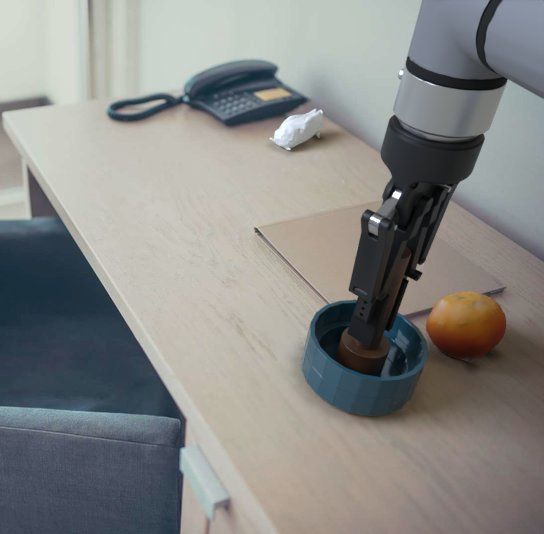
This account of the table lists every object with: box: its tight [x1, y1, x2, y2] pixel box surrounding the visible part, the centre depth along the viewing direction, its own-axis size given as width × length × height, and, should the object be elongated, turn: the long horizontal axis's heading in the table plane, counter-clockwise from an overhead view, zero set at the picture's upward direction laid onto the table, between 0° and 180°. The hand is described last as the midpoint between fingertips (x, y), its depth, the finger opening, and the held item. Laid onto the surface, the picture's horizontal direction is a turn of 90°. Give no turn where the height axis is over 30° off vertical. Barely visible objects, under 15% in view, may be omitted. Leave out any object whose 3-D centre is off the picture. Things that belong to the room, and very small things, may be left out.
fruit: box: [425, 291, 507, 365], centre depth 74 cm, size 8×8×8 cm
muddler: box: [335, 246, 411, 377], centre depth 66 cm, size 5×5×16 cm
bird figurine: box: [269, 108, 324, 151], centre depth 114 cm, size 5×7×10 cm
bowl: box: [301, 299, 430, 417], centre depth 69 cm, size 12×12×6 cm
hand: (369, 330), depth 67 cm, fingers closed on muddler, 3 cm apart
